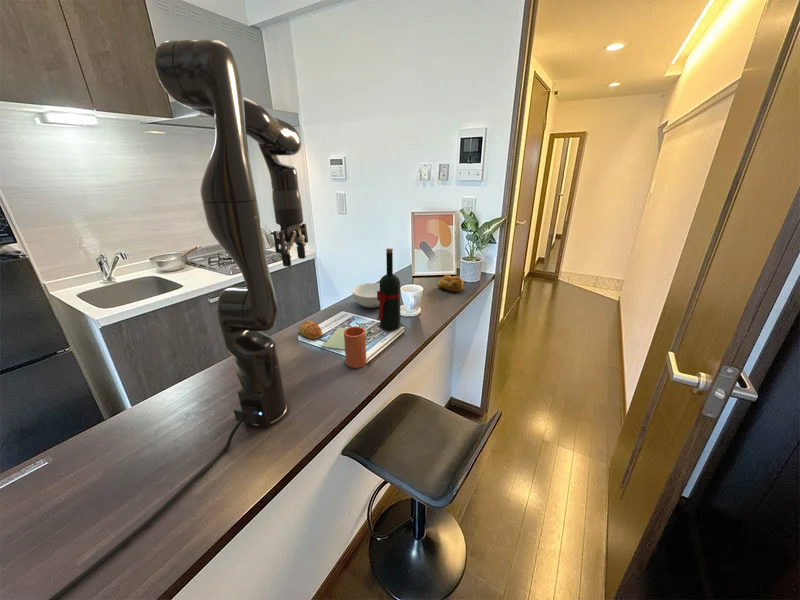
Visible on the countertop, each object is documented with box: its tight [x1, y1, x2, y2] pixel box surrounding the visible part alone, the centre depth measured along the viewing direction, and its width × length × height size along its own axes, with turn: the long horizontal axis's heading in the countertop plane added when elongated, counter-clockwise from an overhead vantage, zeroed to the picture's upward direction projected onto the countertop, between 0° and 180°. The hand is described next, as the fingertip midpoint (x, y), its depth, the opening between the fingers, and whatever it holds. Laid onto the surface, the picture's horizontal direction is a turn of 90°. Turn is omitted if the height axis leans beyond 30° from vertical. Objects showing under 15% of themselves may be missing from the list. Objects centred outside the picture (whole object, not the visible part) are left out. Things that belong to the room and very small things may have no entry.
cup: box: [344, 325, 367, 369], centre depth 99 cm, size 6×6×11 cm
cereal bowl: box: [352, 282, 380, 309], centre depth 141 cm, size 17×17×7 cm
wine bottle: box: [377, 247, 401, 332], centre depth 117 cm, size 8×10×30 cm
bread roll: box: [437, 274, 464, 293], centre depth 158 cm, size 13×10×8 cm
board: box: [322, 326, 370, 351], centre depth 115 cm, size 14×12×1 cm
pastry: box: [298, 320, 323, 340], centre depth 117 cm, size 9×7×4 cm
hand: (295, 262), depth 97 cm, fingers open, 8 cm apart
